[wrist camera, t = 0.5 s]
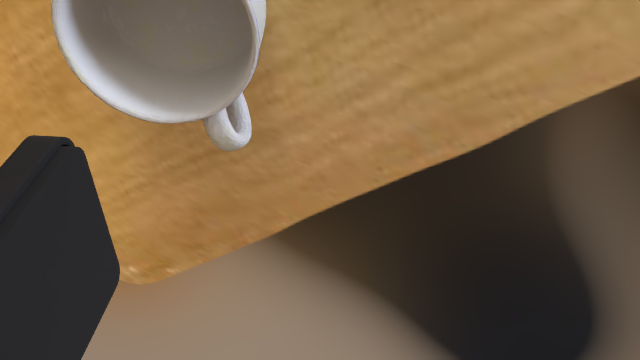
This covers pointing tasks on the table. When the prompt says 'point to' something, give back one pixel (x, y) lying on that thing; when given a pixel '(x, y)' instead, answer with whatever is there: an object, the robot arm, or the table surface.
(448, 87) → the table surface
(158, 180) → the table surface
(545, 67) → the table surface
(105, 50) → the teacup
